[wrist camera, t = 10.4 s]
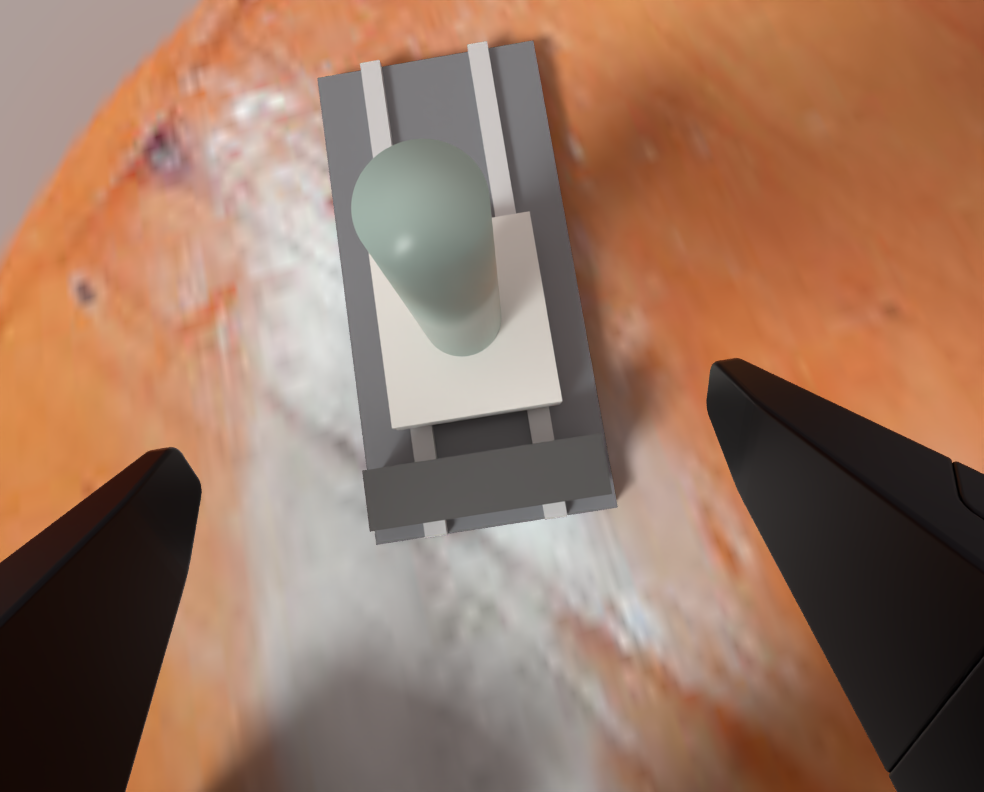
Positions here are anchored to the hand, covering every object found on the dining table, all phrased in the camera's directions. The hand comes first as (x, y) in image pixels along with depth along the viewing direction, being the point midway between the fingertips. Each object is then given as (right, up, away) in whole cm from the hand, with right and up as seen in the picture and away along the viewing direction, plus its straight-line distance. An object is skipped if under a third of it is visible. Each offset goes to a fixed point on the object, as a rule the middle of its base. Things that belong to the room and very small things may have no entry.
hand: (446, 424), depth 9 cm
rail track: (0, +5, +13) cm, 14 cm away
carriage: (0, +3, +12) cm, 12 cm away
